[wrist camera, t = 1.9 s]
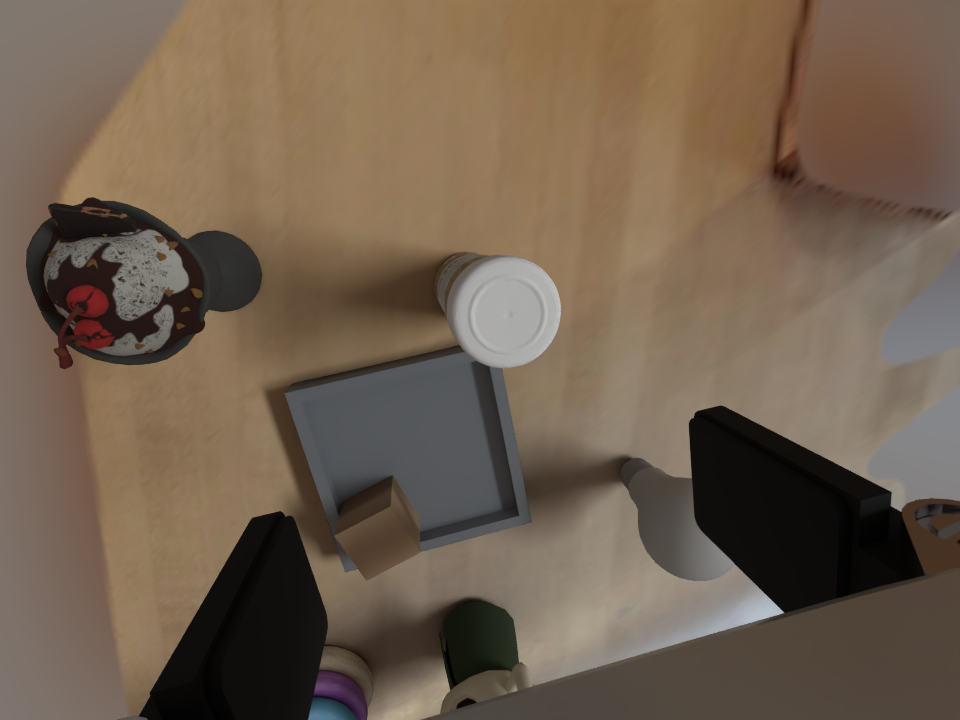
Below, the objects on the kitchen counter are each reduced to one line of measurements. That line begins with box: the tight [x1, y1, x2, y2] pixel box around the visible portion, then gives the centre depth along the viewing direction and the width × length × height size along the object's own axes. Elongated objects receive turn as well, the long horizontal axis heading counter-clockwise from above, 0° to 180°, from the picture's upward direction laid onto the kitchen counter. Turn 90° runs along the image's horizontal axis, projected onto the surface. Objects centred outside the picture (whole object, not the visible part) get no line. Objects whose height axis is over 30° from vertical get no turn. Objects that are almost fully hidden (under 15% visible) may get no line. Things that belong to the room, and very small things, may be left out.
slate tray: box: [284, 346, 531, 572], centre depth 32 cm, size 14×14×2 cm
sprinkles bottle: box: [434, 252, 561, 368], centre depth 24 cm, size 5×5×13 cm
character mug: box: [439, 601, 534, 714], centre depth 31 cm, size 11×7×13 cm, turn 160°
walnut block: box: [334, 475, 420, 581], centre depth 31 cm, size 4×4×4 cm
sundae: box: [26, 197, 262, 369], centre depth 21 cm, size 7×7×15 cm
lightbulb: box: [620, 458, 735, 581], centre depth 31 cm, size 6×6×11 cm
